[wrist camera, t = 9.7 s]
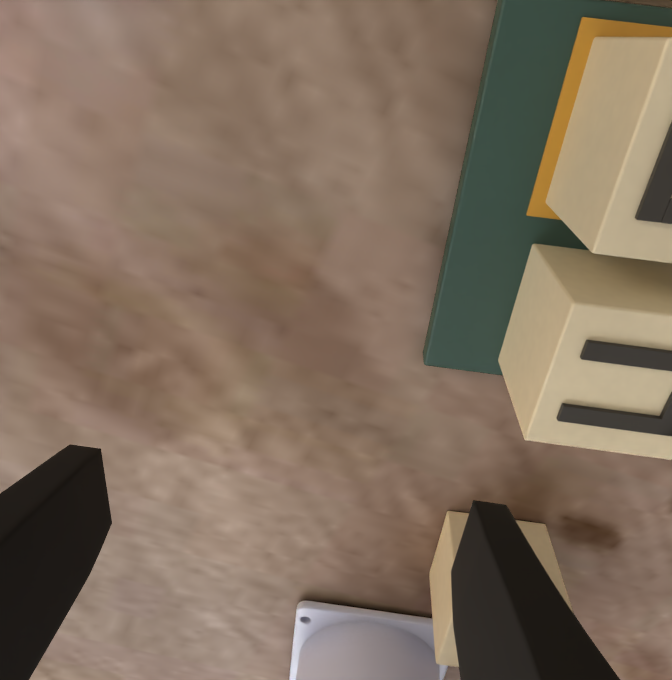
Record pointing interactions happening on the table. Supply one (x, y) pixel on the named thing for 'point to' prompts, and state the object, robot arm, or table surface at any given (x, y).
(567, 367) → the U block
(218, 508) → the table surface
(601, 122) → the block
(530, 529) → the block
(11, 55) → the table surface
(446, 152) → the table surface
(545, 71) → the green board
